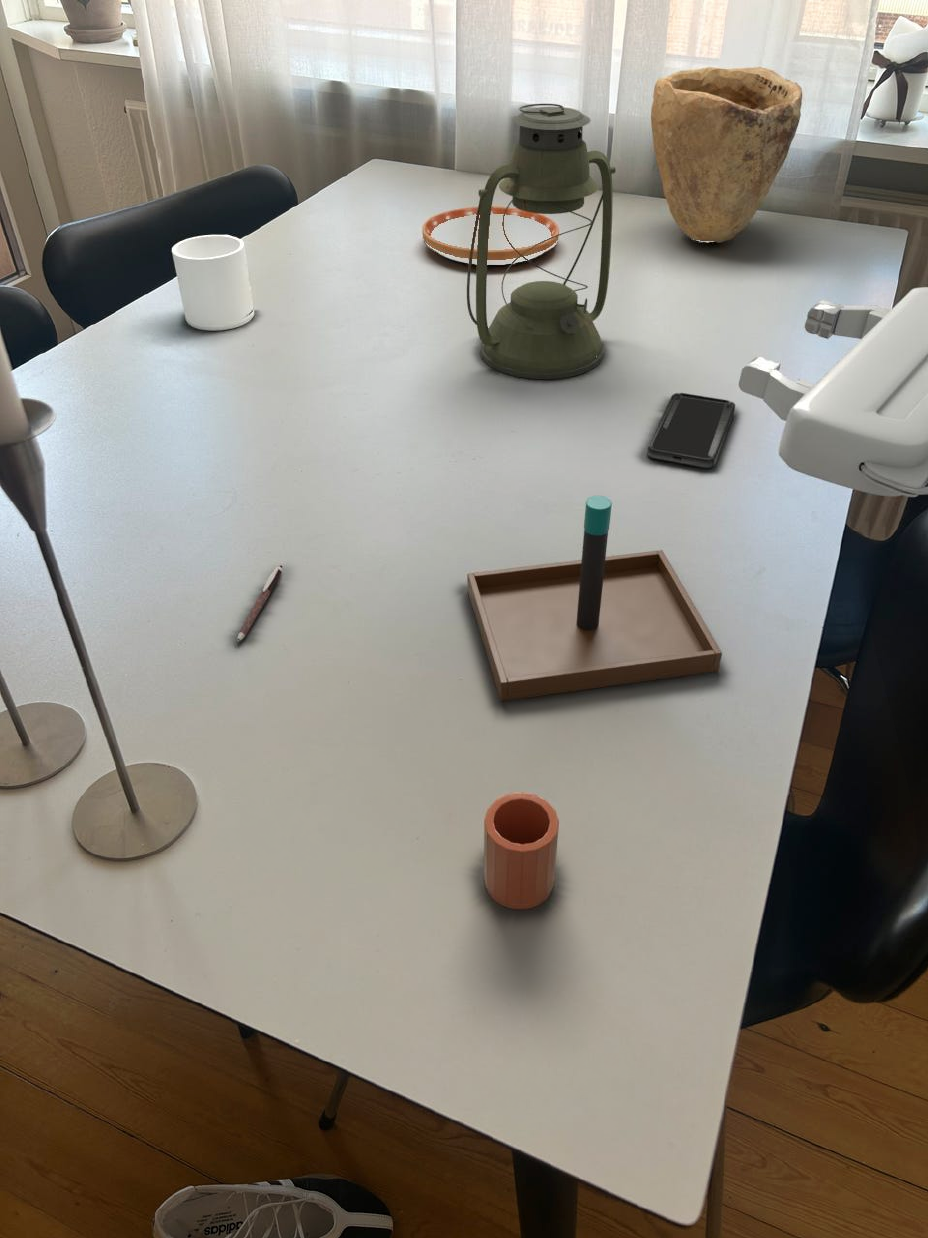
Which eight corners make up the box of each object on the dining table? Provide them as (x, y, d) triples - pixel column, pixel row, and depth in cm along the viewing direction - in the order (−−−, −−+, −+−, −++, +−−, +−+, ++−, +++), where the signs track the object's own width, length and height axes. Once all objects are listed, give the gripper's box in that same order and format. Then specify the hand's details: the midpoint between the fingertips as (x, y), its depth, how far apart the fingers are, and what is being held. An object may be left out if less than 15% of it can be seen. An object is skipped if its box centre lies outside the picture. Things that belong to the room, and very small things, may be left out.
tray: (659, 567, 95) (662, 549, 93) (718, 671, 83) (722, 653, 82) (467, 590, 92) (467, 573, 91) (500, 701, 81) (500, 683, 79)
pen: (278, 569, 95) (276, 560, 94) (285, 570, 95) (284, 561, 94) (234, 643, 86) (232, 635, 86) (242, 644, 86) (240, 636, 86)
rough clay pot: (716, 276, 153) (744, 101, 137) (612, 240, 166) (626, 77, 150) (800, 243, 164) (835, 77, 148) (697, 212, 177) (718, 57, 161)
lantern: (508, 393, 123) (513, 137, 104) (444, 342, 135) (438, 104, 116) (639, 358, 130) (666, 113, 111) (568, 313, 142) (581, 85, 123)
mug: (239, 333, 138) (227, 261, 131) (174, 328, 140) (159, 256, 133) (270, 299, 147) (261, 231, 141) (209, 295, 149) (197, 227, 143)
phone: (736, 401, 118) (714, 460, 107) (735, 410, 119) (713, 469, 108) (672, 391, 120) (644, 448, 110) (671, 399, 121) (643, 456, 110)
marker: (601, 618, 88) (614, 497, 79) (596, 632, 86) (608, 511, 78) (578, 614, 88) (589, 493, 80) (573, 628, 87) (583, 506, 78)
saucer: (511, 218, 176) (512, 197, 173) (584, 256, 160) (586, 233, 158) (399, 240, 167) (398, 218, 165) (465, 283, 152) (465, 259, 149)
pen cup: (544, 846, 69) (548, 787, 65) (561, 903, 66) (566, 845, 61) (478, 857, 69) (478, 798, 64) (492, 915, 65) (493, 856, 61)
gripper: (917, 550, 52) (691, 456, 58) (1030, 392, 64) (831, 327, 70) (960, 453, 48) (710, 363, 54) (1073, 301, 59) (856, 241, 65)
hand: (779, 342), depth 62 cm, fingers open, 8 cm apart
